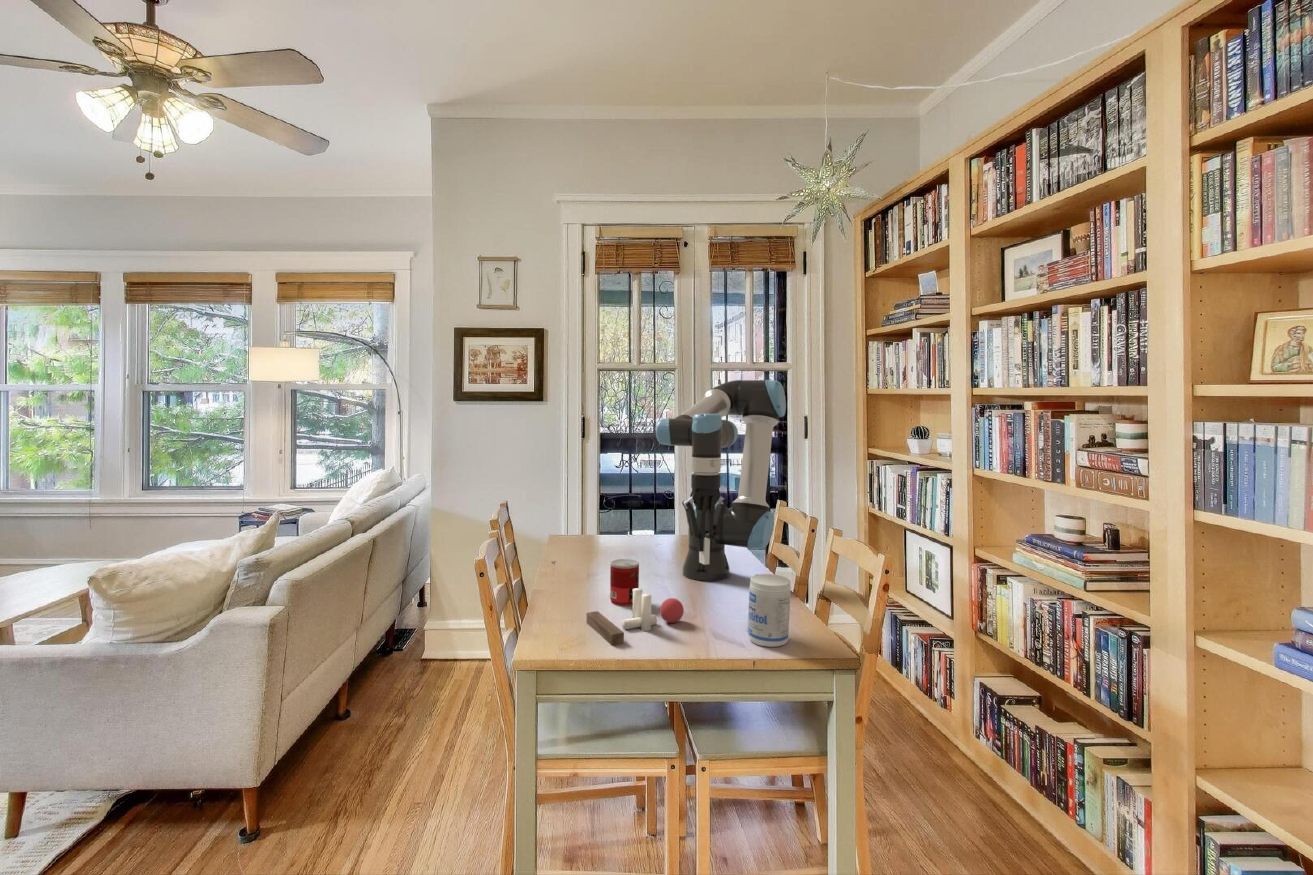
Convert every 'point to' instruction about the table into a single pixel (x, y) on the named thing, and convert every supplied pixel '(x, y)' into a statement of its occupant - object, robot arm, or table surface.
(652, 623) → the front pin
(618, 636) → the brown wooden bar
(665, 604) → the ball
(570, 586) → the table surface
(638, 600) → the pin
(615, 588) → the canned food
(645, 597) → the pin
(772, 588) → the supplement tub
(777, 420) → the robot arm
